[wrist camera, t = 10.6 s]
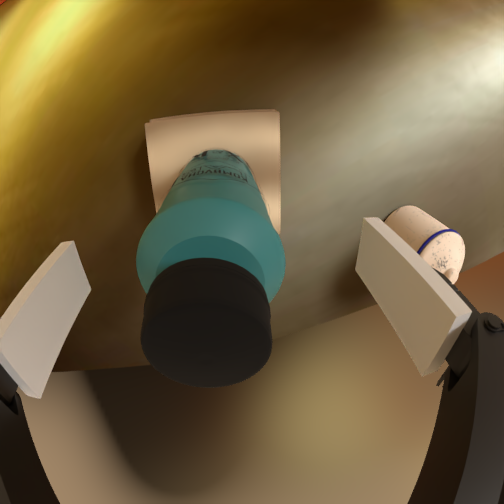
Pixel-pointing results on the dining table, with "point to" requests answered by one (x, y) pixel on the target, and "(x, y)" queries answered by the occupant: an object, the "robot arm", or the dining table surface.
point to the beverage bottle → (210, 275)
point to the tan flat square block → (217, 137)
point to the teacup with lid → (429, 239)
